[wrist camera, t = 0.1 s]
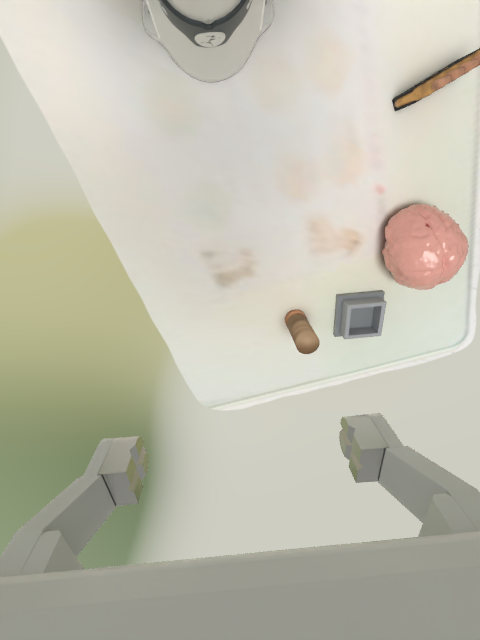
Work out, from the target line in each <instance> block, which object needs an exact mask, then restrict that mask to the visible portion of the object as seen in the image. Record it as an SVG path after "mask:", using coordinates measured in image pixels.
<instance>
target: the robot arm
mask: <svg viewBox="0 0 480 640" xmlns="http://www.w3.org/2000/svg"><path fill="white" fill-rule="evenodd" d="M265 1H266V5H265ZM149 12H150V14H149ZM142 14H143V24H144V28H145V30H146V32H147V33H148V34H149V35H150V36H151V37H152V38H153V39H155V40H156V41H158V42H159V43H161V44H162V45H163V46H164V47H165V48H166V50H167V51H168V52H169V54H170V55H171V57H172V58H173V60H174V61H175V62H176V64H177V65H178V66H179V67H180V68H181V69H182V70H183V71H184V72H186V73H187V74H188V75H190V76H192V77H194V78H196V79H198V80H201V81H206V82H217V81H222V80H225V79H227V78H229V77H231V76H232V75H234V74H235V73H236V72H238V71H239V70H240V69H241V68H242V66H243V65H244V64H245V62H246V61H247V59H248V58H249V56H250V54H251V52H252V50H253V47H254V45H255V43H256V41H257V39H258V37H259V36H260V35H261V34H262V33H263V32H264V31H265V30H266V29H267V28H268V27H269V26H270V24H271V23H272V20H273V16H274V7H273V1H272V0H142ZM341 425H342V428H343V429H342V430H341V431H340V445H341V449H342V452H343V454H344V456H345V457H346V458H347V459H349V460H350V463H349V468H350V470H351V472H352V475H353V477H354V479H355V481H356V483H359V482H373V481H379V482H378V483H380V484H381V485H382V486H383V487H384V488H385V489H386V490H387V491H388V492H389V493H390V494H392V495H393V496H394V497H395V498H396V499H397V500H398V501H399V502H400V503H401V504H403V505H404V506H405V507H406V508H407V509H408V510H409V511H410V512H411V513H412V514H414V515H415V516H416V517H417V518H418V519H419V520H420V521H421V522H422V523H423V525H422V528H421V530H420V533H419V536H418V537H413V538H403V539H392V540H382V541H372V542H362V543H352V544H341V545H331V546H320V547H309V548H299V549H288V550H279V551H267V552H257V553H247V554H237V555H226V556H216V557H206V558H196V559H186V560H175V561H166V562H165V561H164V562H154V563H144V564H134V565H123V566H114V567H113V566H112V567H102V568H92V569H84V568H83V567H82V565H81V564H80V562H79V560H78V559H77V556H78V555H79V553H80V552H81V551H82V550H83V548H84V547H85V546H86V545H87V543H88V542H89V541H90V539H91V538H92V537H93V536H94V534H95V533H96V532H97V531H98V529H99V528H100V527H101V526H102V524H103V523H104V522H105V521H106V519H107V518H108V517H109V516H110V514H111V513H112V512H113V510H114V509H115V508H116V506H120V505H129V504H137V503H138V502H139V499H140V495H141V492H142V488H143V485H142V482H141V480H142V479H143V478H144V477H145V476H146V473H147V469H148V454H147V450H146V449H144V448H143V443H144V441H143V439H142V437H141V436H136V437H122V438H109V439H103V440H102V441H101V442H100V443H99V445H98V447H97V449H96V451H95V453H94V455H93V457H92V459H91V461H90V463H89V465H88V467H87V469H86V471H85V473H84V475H83V477H79V478H77V479H76V480H75V481H74V482H73V483H72V484H71V485H69V486H68V487H67V488H66V489H65V490H64V491H63V492H61V493H60V494H59V495H58V496H57V497H56V498H54V499H53V500H52V501H51V502H50V503H49V504H48V505H46V506H45V507H44V508H43V509H42V510H41V511H40V512H38V513H37V514H36V515H35V516H34V517H33V518H32V519H30V520H29V521H28V522H27V523H26V524H25V525H23V527H21V528H20V529H19V530H18V531H17V532H16V533H15V534H14V535H13V537H12V539H11V540H10V542H9V544H8V545H7V547H6V549H5V550H4V552H3V554H2V555H1V557H0V640H480V492H479V491H478V490H477V489H476V488H474V487H473V486H471V485H469V484H468V483H466V482H464V481H463V480H461V479H460V478H458V477H456V476H455V475H453V474H452V473H450V472H448V471H447V470H445V469H444V468H442V467H440V466H439V465H437V464H436V463H434V462H432V461H431V460H429V459H428V458H426V457H424V456H423V455H421V454H419V453H418V452H416V451H415V450H413V449H411V448H410V447H408V446H403V444H402V443H401V441H400V440H399V439H398V437H397V436H396V434H395V433H394V431H393V430H392V428H391V427H390V425H389V424H388V423H387V421H386V420H385V418H384V417H383V415H382V414H380V413H377V414H367V415H356V416H347V417H342V419H341Z"/></svg>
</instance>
